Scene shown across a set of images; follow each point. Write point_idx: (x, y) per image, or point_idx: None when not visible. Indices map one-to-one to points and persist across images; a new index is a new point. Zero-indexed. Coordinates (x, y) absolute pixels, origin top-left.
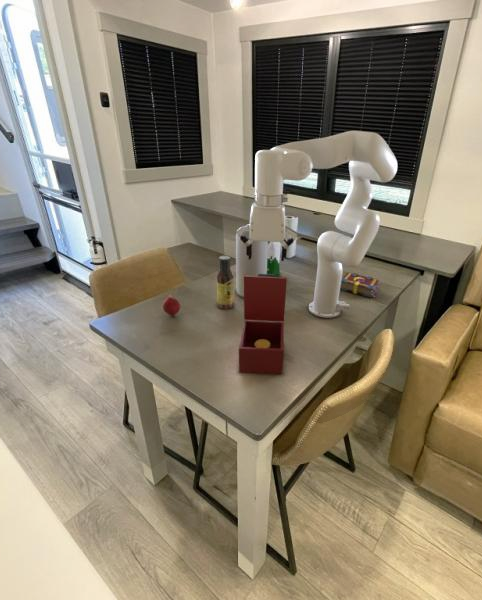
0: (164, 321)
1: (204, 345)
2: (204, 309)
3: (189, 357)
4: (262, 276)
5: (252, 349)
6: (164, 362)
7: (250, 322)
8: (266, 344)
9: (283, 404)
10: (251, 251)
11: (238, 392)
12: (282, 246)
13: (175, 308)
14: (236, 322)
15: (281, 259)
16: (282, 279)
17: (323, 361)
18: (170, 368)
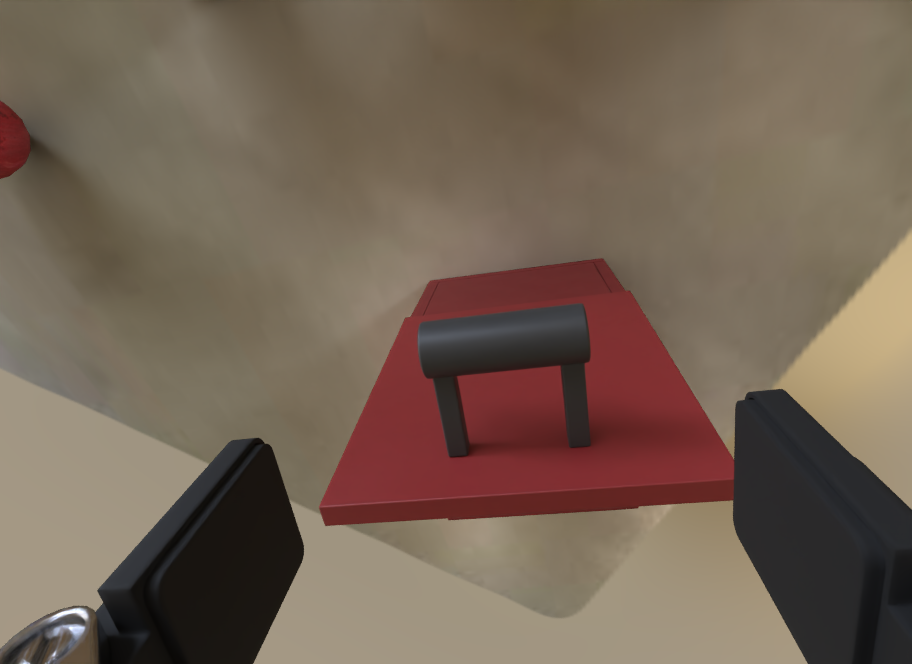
0: (28, 199)
1: (280, 330)
2: (124, 27)
3: (264, 403)
4: (490, 501)
5: (504, 515)
6: (202, 438)
7: None
8: None
9: (626, 547)
10: (245, 554)
11: (482, 522)
12: (873, 601)
13: (6, 162)
14: (340, 120)
15: (746, 549)
16: (693, 496)
17: (793, 339)
18: None
